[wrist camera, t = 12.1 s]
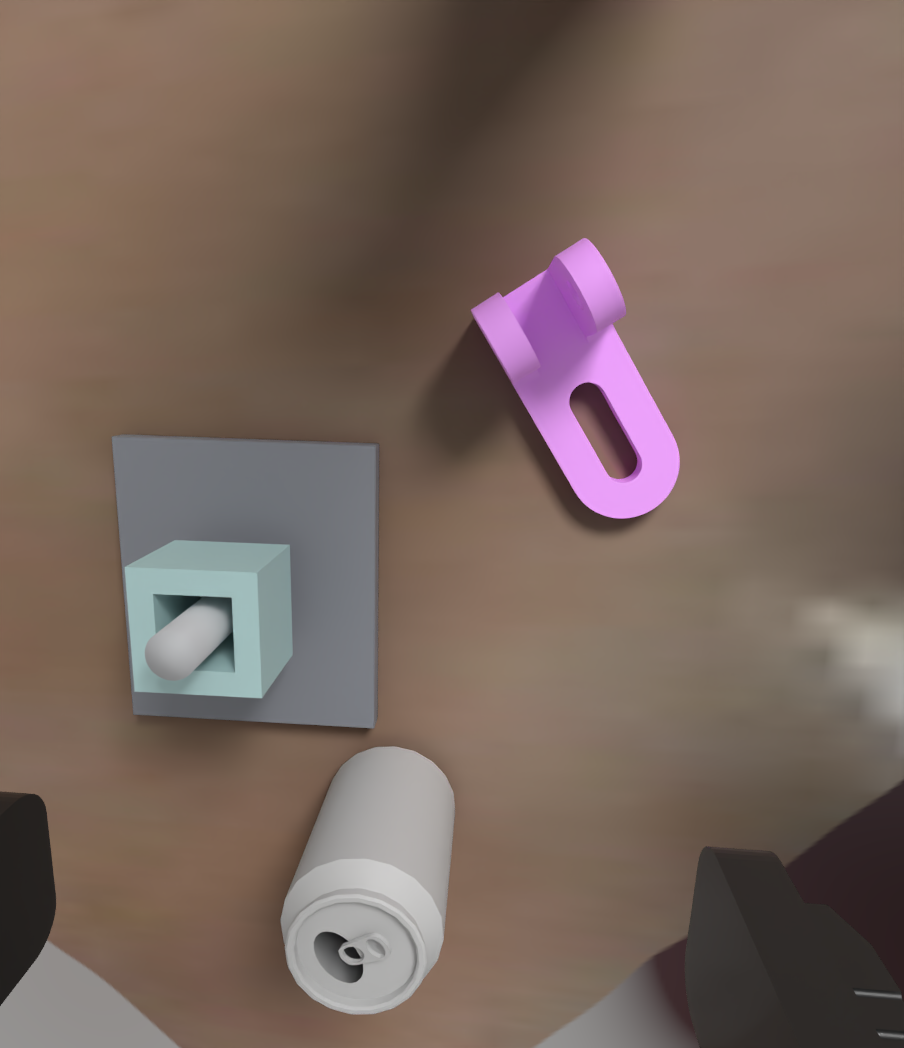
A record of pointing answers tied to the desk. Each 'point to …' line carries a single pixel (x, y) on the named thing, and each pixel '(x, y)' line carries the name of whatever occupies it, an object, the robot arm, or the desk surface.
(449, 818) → the can
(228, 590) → the collar
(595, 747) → the desk surface
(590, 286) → the bracket
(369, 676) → the post block
